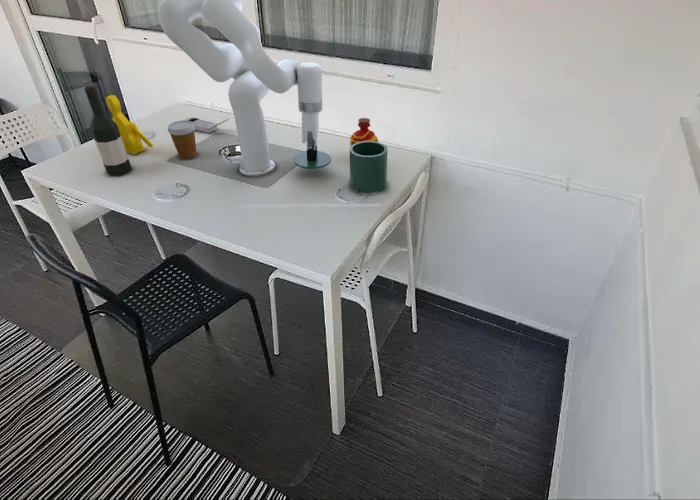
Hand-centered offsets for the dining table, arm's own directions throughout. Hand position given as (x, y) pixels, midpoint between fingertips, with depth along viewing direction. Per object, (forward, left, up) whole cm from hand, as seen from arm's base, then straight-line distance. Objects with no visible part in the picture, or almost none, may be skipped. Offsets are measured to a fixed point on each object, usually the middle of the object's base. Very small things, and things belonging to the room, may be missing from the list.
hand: (312, 158), depth 154 cm
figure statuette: (-70, +19, -6) cm, 73 cm away
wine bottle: (-69, +3, -6) cm, 69 cm away
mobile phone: (-49, +40, -2) cm, 63 cm away
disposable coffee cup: (-48, +15, -6) cm, 51 cm away
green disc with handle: (0, 0, -1) cm, 1 cm away
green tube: (+19, -9, -6) cm, 22 cm away
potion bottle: (+18, +10, -6) cm, 21 cm away
